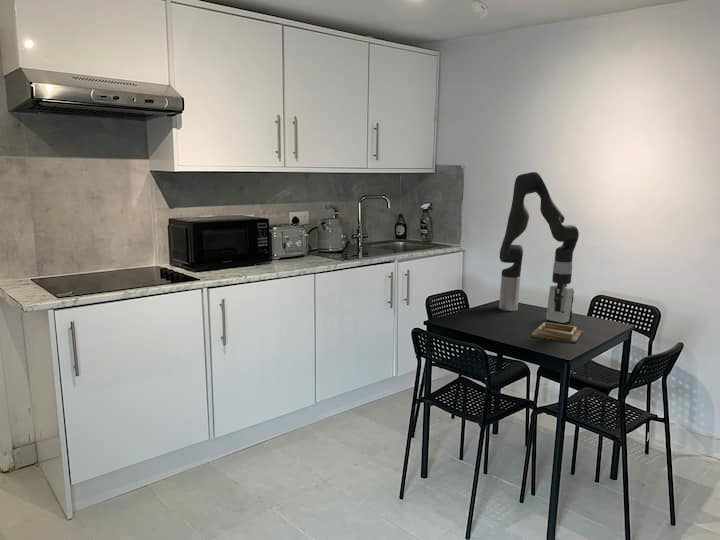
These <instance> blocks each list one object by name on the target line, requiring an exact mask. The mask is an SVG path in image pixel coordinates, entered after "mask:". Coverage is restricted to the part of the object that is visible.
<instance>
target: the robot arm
mask: <svg viewBox="0 0 720 540" xmlns="http://www.w3.org/2000/svg"><path fill="white" fill-rule="evenodd" d="M534 193H536V194H537V195H538V196H539V198H540V208H539V209H540V213H541V216H542V217H543V219H544V220H545V221H546V222H547V225H548V226H549V229H550V233H551V236H552V237H553V239H554V240H555V241H557V242H558V243H559V242H560V243H562V242H563V243H562V245H560V246H558V247H556V249H555V251H554V252H555V253H554V263H553V269H552V279H551V280H552V281H551V282H552V283H554V284H556V285H557V288H555V297H554V302H555V311H556V312H560V309H561V302H562V298H563V296H561V293H562V289H563V288H564V287H568V286H567V285H569V284H571V282H572V275H573V274H572V273H573V256H574V255H573V254H574V251H575V249H576V246H577V244H578V240H579V235H580V234H579V229H578V227H577V226H576V225H574V224H563V223H564V222H565V215H564V213H563V212H561V210H560V209H559V207H558V206H557V204H556V203H555V201H554V200H553V197H552V196H551V194H550V191H549V189H548V188H547V186H546V183H545V181H544V179H543V177H542V176H541V174H539V173H538V172H535V171H531V172H527V173H522V174H519V175H518V176H517V177H516V178H515V180H514V185H513V195H512V201H511V206H510V211H509V214H508V215H509V216H508V220H507V223H506V229H505V234H504V237H503V240H502V243H501V246H500V249H499V260H500V262H501V263H507V264H512V265H511V266H509V267H507V268H504V269H502V271H501V277H500V278H501V279H500V289H499V290H500V294H499V304H498V305H499V307H498V308H499V310H502V311H508V312H516V311H518V310H519V309H518V308H519V297H520V286H521V285H520V284H521V283H520V282H521V273H522V262H523V256H524V249H523V246H522V245H520V244H512V243H513V242H514V241H515V240H516V239H517V238H518V237H520V236H521V235H522V234H523V233H524V232H525V231H526V229H527V227H528V224H529V219H530V214H529V211H528V209H527V207H526V205H525V197H526V196H527V195H529V194H534ZM557 298H559V300H557Z"/></svg>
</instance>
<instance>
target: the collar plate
mask: <svg viewBox="0 0 720 540" xmlns="http://www.w3.org/2000/svg"><path fill="white" fill-rule="evenodd" d="M582 334H583V330H578V326H574V325H568V324H560V323H554V322H546V321H544V322H542V323H541V324H539V326H538V327H537V328H536V329H535V330H534V331H533V332H532V333H531V334H530V336H531V337H533V338H540V339H544V338H545V340H551V339H552V340H553V341H557V340H558V342H564V343H571V344H577V343H578V341H579V339H580V338H581V336H582Z"/></svg>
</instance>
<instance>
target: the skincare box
mask: <svg viewBox="0 0 720 540" xmlns="http://www.w3.org/2000/svg"><path fill="white" fill-rule="evenodd" d="M555 288H557V284H554V285H550V287H549V293H548V299H547V300H548V301H547V306H546V307H547V308H546V315H545V319H546V320H548V321H550V320H551V321H556V322H560V323H565V322H568V321H569V317H570V310H571V303H572V296H574V295H573V294H574V293H573V291H574V288H572V287H568V286H567V287H564V288H563V289H562V293H561V296H563V298H562V302H561V309H560V312H556V311H555V302H554V297H555ZM557 300H559V298H557ZM572 304H573V303H572ZM551 321H550V322H551ZM560 323H559V324H560Z"/></svg>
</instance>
